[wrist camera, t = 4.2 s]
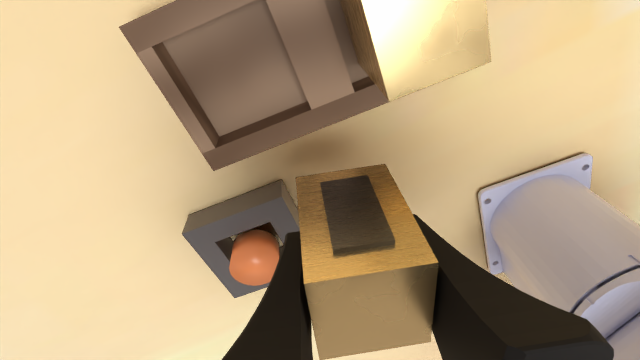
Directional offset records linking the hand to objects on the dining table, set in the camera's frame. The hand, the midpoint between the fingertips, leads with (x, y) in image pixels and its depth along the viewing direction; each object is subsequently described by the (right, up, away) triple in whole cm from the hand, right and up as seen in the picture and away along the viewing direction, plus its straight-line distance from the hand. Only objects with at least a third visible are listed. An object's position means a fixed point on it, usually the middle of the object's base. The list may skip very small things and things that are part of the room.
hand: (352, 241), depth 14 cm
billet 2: (0, +1, +2) cm, 2 cm away
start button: (-6, -2, +10) cm, 11 cm away
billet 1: (+2, +11, +3) cm, 12 cm away
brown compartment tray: (-2, +10, +4) cm, 11 cm away
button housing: (-6, -1, +11) cm, 12 cm away
